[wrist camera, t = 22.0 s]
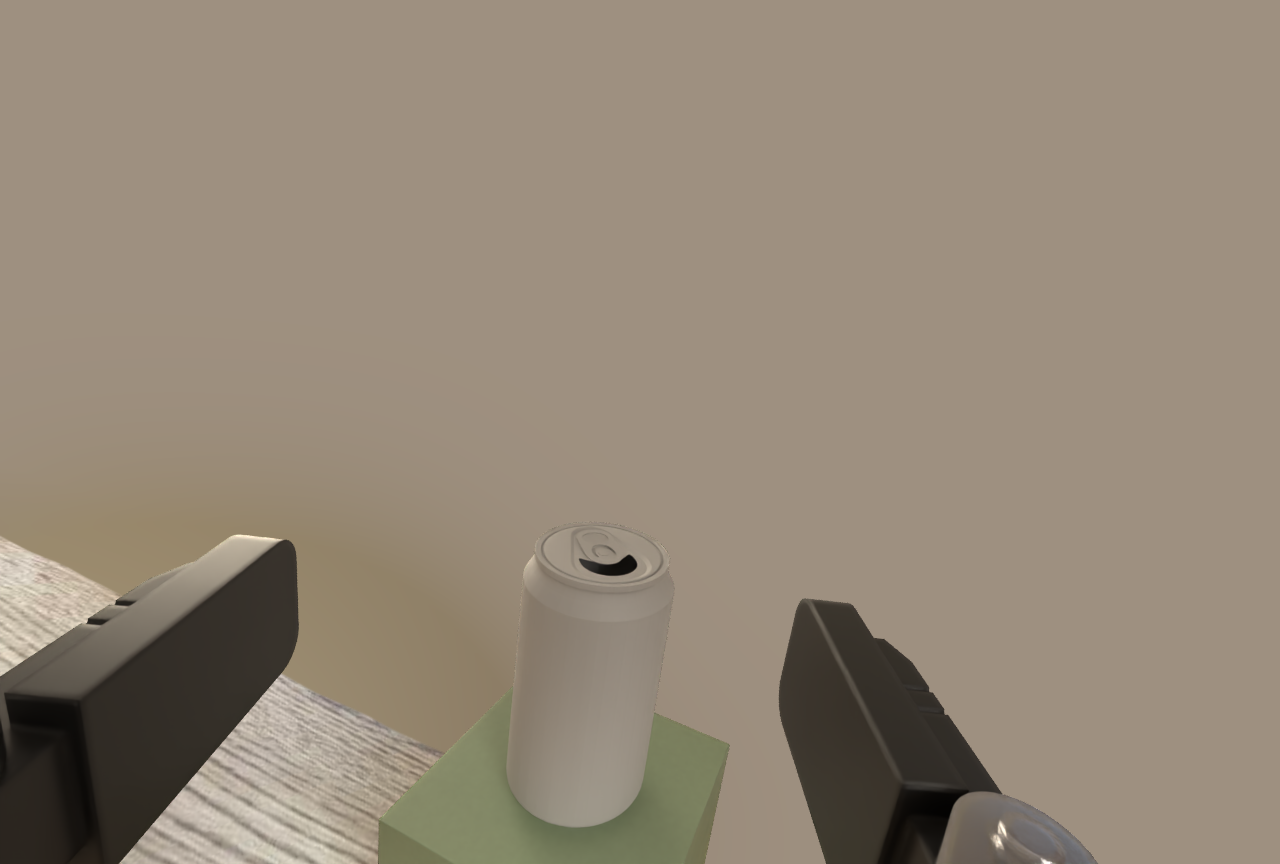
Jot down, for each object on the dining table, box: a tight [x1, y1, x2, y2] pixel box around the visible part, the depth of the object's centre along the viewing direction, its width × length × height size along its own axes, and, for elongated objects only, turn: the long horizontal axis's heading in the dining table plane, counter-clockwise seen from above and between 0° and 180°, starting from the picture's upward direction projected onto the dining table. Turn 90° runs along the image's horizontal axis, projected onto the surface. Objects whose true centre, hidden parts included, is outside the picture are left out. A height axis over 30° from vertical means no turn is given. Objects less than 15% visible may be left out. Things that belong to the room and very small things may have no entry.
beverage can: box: [506, 522, 674, 828], centre depth 27 cm, size 6×6×12 cm
